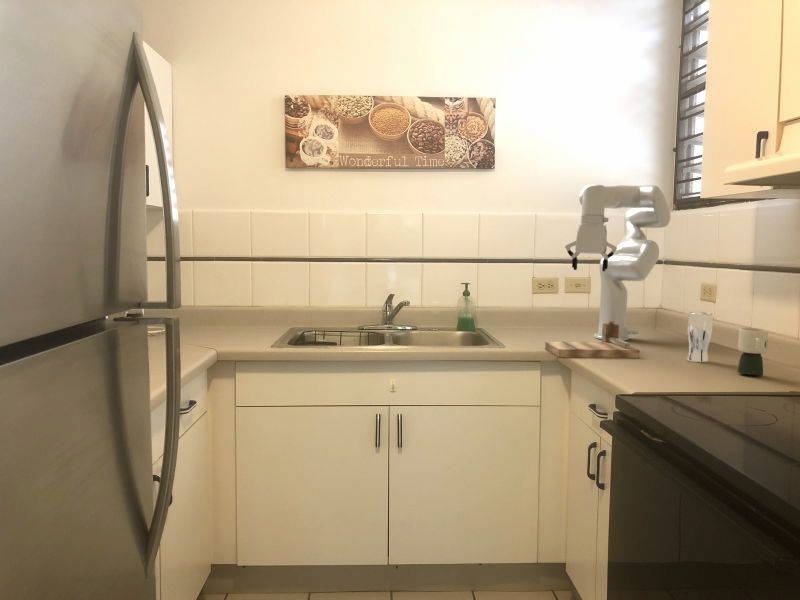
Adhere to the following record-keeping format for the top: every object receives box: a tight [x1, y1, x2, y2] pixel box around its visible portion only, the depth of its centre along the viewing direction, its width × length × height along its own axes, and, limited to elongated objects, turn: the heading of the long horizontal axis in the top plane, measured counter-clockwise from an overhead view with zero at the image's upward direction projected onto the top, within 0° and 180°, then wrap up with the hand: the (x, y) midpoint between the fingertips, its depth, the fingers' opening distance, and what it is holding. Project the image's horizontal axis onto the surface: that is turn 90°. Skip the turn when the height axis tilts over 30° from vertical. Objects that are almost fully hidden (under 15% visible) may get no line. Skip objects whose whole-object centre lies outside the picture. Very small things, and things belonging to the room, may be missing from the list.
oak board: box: [544, 341, 640, 359], centre depth 203 cm, size 26×14×3 cm, turn 94°
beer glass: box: [686, 311, 714, 364], centre depth 194 cm, size 7×7×15 cm
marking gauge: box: [601, 321, 631, 348], centre depth 206 cm, size 4×15×9 cm, turn 4°
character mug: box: [737, 327, 769, 377], centre depth 175 cm, size 11×7×13 cm, turn 166°
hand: (589, 270), depth 218 cm, fingers open, 9 cm apart
